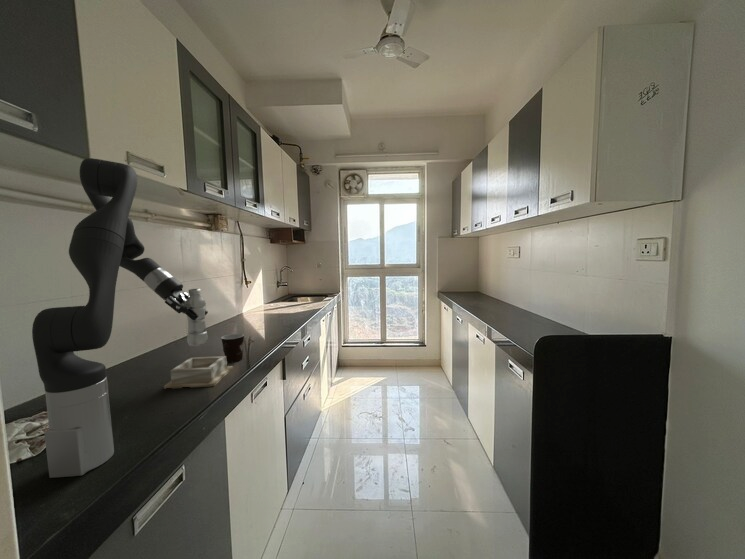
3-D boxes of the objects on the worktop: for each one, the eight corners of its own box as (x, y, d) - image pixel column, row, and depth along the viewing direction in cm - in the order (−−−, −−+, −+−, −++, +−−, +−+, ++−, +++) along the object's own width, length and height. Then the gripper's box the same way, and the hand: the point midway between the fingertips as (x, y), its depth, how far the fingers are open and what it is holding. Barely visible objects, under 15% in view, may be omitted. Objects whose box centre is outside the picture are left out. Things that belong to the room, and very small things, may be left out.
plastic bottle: (184, 349, 103) (180, 290, 101) (190, 343, 109) (187, 288, 108) (205, 347, 105) (202, 289, 103) (210, 341, 111) (207, 287, 109)
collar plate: (214, 386, 101) (213, 370, 100) (164, 388, 99) (162, 372, 99) (232, 368, 117) (231, 354, 116) (189, 370, 115) (188, 356, 115)
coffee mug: (235, 355, 132) (234, 332, 132) (249, 357, 129) (248, 334, 128) (211, 364, 122) (209, 339, 121) (226, 367, 118) (224, 342, 117)
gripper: (158, 277, 97) (198, 312, 99) (182, 274, 112) (217, 305, 113) (142, 294, 97) (182, 328, 99) (168, 289, 112) (203, 319, 113)
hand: (201, 316), depth 106 cm, fingers closed on plastic bottle, 6 cm apart
